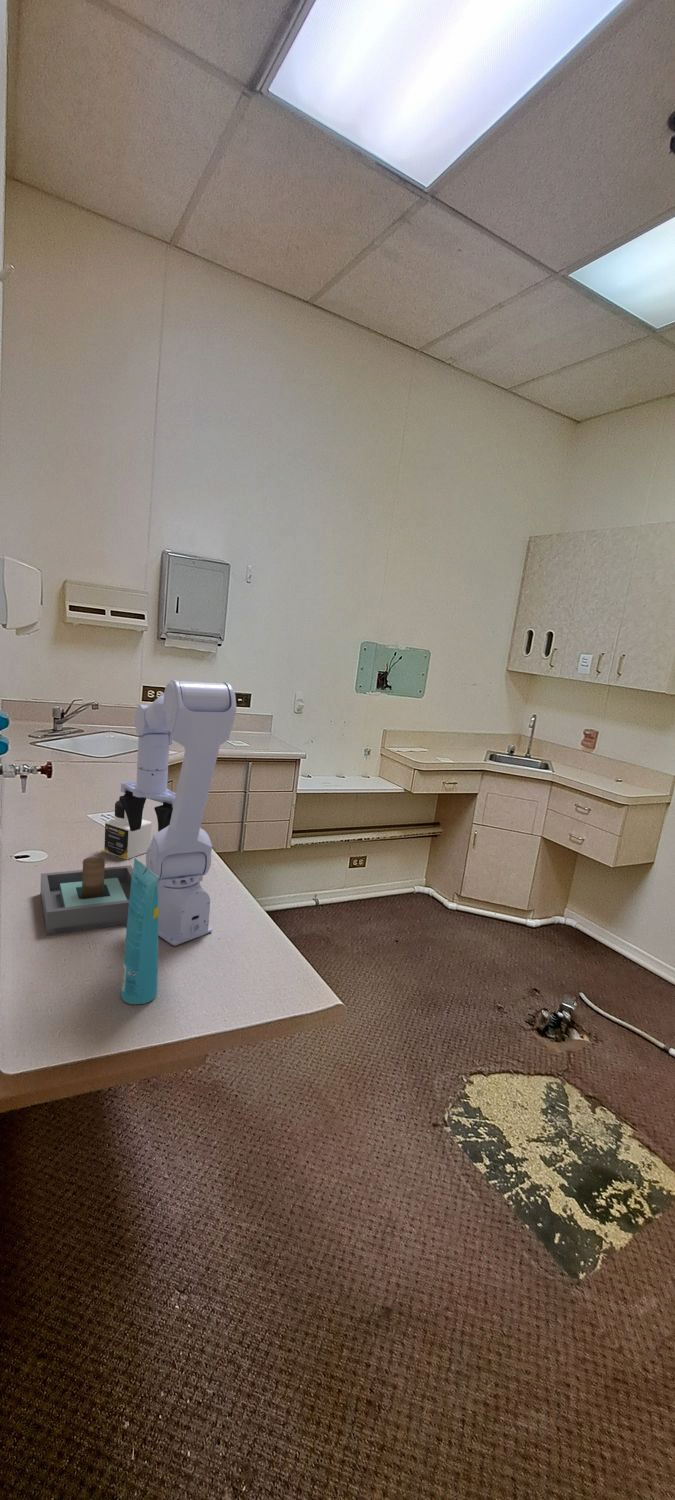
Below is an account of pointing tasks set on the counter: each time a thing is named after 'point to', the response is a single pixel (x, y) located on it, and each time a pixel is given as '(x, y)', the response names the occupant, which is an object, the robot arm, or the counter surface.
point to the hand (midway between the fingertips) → (149, 834)
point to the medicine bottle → (126, 835)
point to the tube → (141, 938)
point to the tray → (83, 911)
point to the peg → (93, 877)
